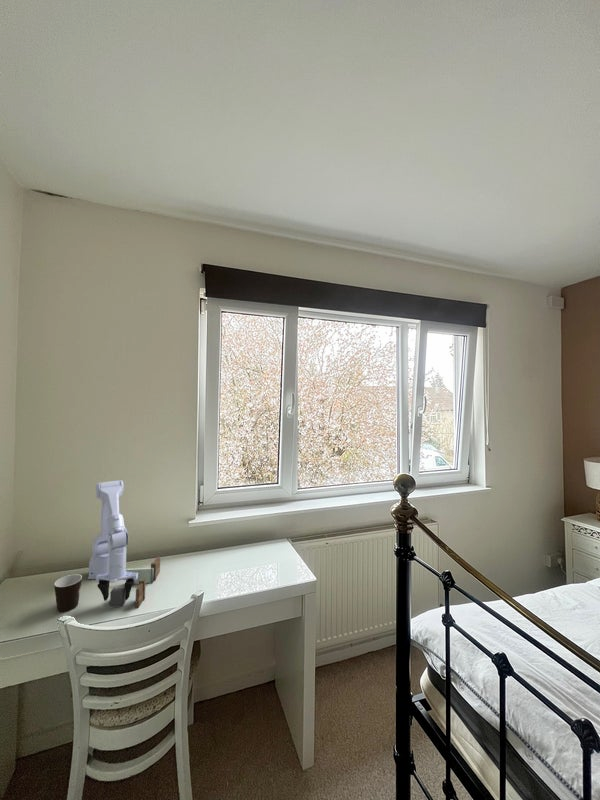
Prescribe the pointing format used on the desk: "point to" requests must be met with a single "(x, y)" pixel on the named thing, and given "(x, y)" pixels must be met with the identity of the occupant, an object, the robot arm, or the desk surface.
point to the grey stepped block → (117, 597)
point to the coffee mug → (67, 592)
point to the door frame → (141, 587)
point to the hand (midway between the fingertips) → (116, 598)
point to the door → (143, 574)
